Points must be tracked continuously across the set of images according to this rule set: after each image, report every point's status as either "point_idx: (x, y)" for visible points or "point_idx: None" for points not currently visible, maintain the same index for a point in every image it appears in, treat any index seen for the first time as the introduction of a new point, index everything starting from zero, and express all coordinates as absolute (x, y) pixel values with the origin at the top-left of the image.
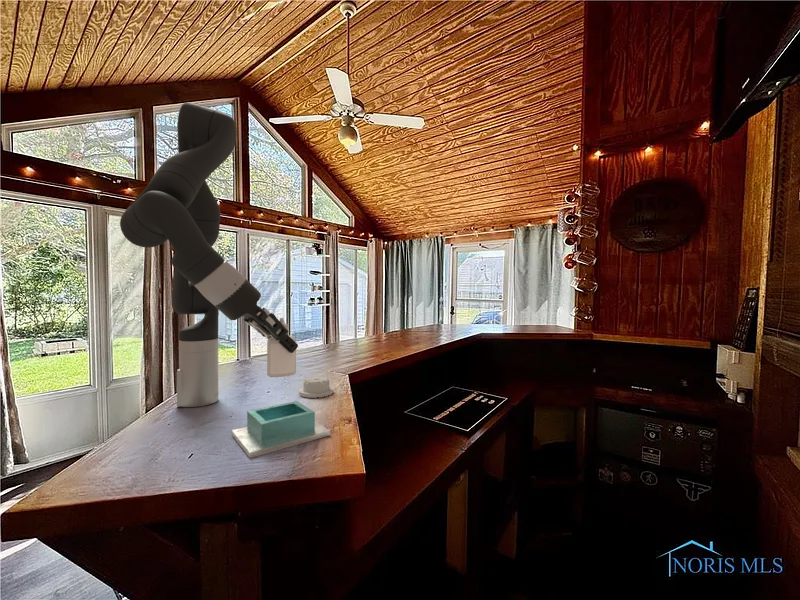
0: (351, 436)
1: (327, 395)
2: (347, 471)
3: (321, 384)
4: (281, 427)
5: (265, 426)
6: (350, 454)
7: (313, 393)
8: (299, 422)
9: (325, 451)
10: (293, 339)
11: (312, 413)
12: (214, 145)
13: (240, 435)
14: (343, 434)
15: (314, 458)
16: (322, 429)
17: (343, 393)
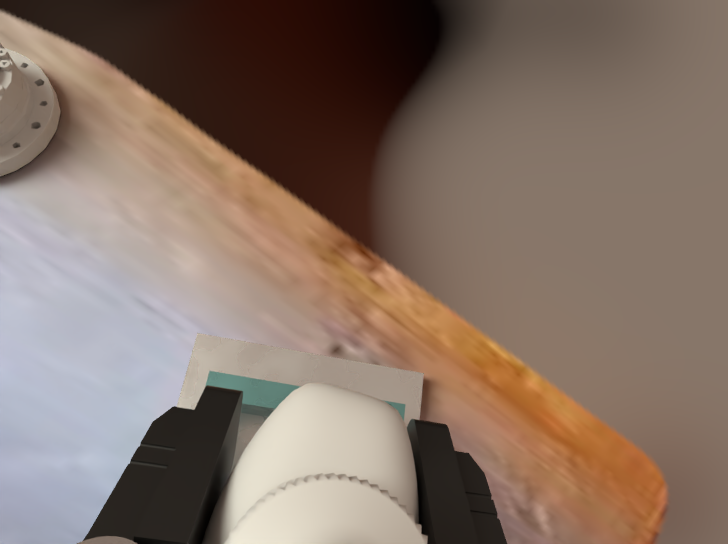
0: (472, 333)
1: (58, 117)
2: (656, 496)
3: (7, 94)
4: None
5: None
6: (575, 421)
7: (6, 151)
8: None
9: (512, 464)
10: (408, 441)
11: (403, 415)
12: None
13: None
14: (442, 340)
15: (533, 521)
16: (396, 385)
17: (93, 63)
